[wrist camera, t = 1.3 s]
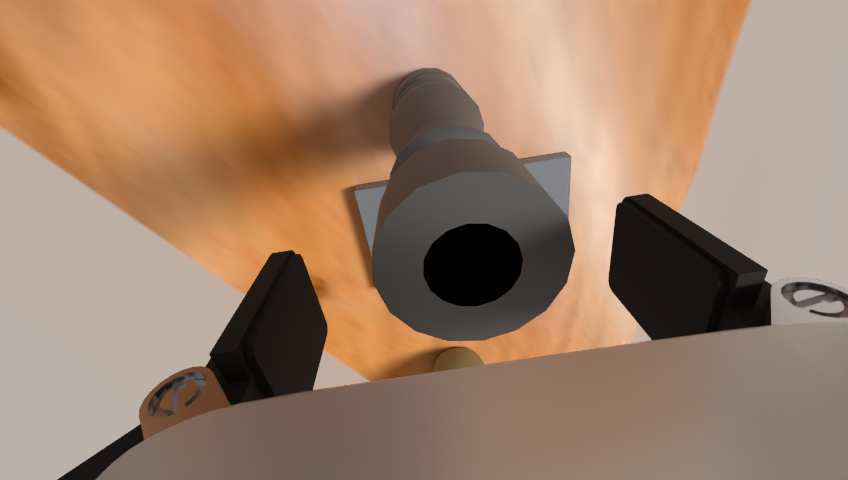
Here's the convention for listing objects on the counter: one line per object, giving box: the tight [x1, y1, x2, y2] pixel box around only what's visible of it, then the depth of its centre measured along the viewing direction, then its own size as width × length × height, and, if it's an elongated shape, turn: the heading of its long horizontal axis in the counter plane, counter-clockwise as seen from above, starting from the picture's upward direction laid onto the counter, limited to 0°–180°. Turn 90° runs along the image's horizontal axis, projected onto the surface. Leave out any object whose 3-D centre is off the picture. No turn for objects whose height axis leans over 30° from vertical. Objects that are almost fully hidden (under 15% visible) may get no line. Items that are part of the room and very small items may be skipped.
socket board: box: [354, 152, 571, 256], centre depth 36 cm, size 20×12×5 cm, turn 99°
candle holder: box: [372, 68, 575, 341], centre depth 21 cm, size 6×6×25 cm
